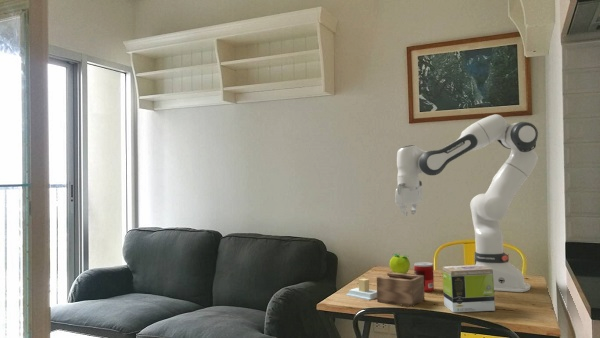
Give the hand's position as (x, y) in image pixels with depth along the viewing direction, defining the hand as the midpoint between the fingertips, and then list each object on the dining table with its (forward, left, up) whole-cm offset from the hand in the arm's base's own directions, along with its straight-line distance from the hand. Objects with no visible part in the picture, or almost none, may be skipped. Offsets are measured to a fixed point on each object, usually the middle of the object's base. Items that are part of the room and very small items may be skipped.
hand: (409, 215), depth 210 cm
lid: (+10, +24, -31) cm, 41 cm away
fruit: (+15, -21, -31) cm, 40 cm away
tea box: (-31, +22, -31) cm, 49 cm away
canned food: (-7, +3, -31) cm, 32 cm away
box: (-6, +24, -31) cm, 39 cm away
